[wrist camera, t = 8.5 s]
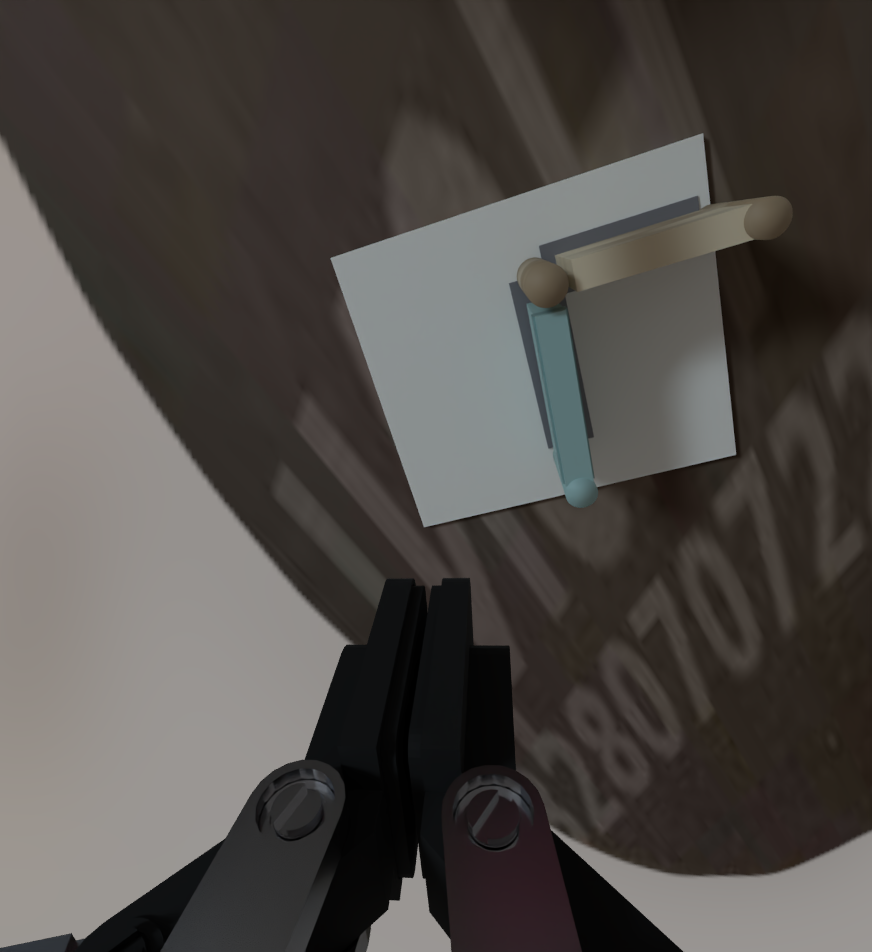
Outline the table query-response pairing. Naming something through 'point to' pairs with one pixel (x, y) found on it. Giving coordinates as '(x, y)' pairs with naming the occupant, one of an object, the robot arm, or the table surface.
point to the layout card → (512, 348)
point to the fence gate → (563, 402)
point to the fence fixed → (654, 247)
